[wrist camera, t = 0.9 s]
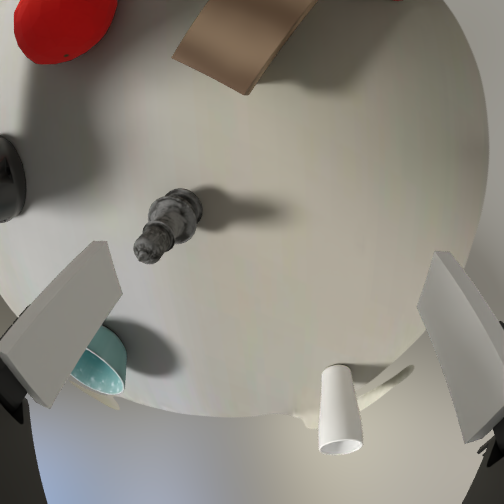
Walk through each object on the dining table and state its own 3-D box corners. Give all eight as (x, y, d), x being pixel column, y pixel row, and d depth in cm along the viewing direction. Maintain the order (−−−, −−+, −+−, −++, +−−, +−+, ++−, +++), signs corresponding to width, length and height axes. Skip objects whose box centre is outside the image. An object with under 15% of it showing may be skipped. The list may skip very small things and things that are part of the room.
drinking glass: (314, 363, 47) (315, 443, 34) (354, 357, 45) (364, 436, 32) (319, 385, 50) (320, 457, 37) (355, 379, 48) (363, 451, 35)
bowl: (142, 374, 55) (129, 405, 48) (80, 350, 55) (64, 376, 48) (136, 324, 47) (117, 359, 40) (65, 298, 47) (42, 327, 40)
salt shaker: (170, 177, 33) (119, 219, 23) (212, 201, 34) (179, 252, 24) (153, 216, 36) (106, 267, 26) (193, 238, 37) (158, 297, 27)
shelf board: (248, 95, 23) (243, 95, 21) (183, 61, 22) (171, 57, 20) (332, -17, 17) (337, -29, 14) (264, -49, 15) (261, -63, 13)
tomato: (111, 60, 29) (121, -23, 22) (113, 41, 19) (131, -65, 13) (22, 76, 23) (33, -9, 17) (-10, 68, 14) (13, -43, 7)
